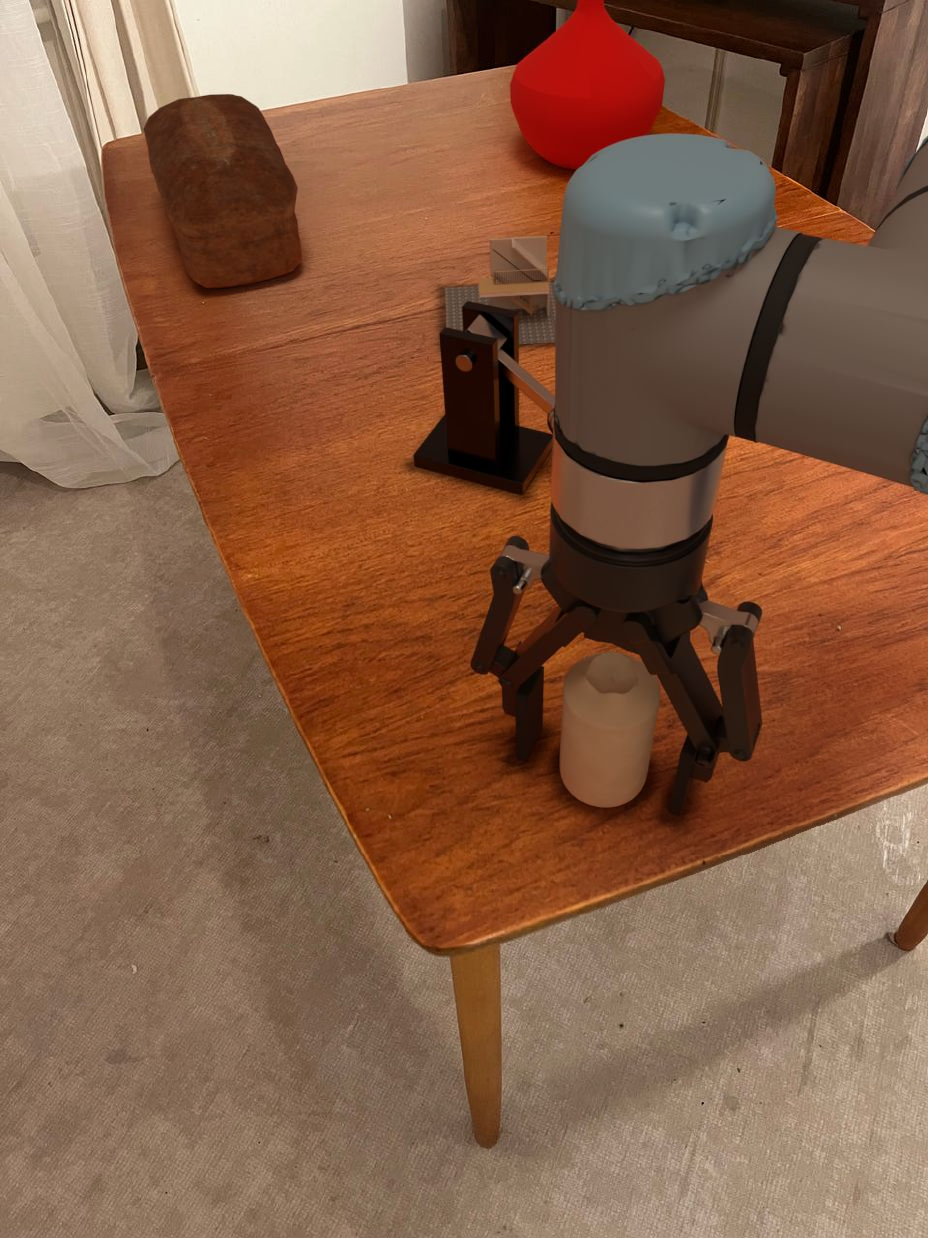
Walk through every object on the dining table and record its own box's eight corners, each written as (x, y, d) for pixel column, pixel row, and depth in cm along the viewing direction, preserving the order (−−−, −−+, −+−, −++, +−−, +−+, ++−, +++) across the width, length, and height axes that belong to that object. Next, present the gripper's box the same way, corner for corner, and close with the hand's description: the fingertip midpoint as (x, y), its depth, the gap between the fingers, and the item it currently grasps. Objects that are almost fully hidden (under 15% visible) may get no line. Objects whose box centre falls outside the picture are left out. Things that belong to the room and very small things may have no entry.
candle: (657, 800, 61) (676, 703, 53) (570, 815, 60) (577, 719, 53) (632, 729, 64) (647, 628, 57) (550, 742, 64) (554, 643, 56)
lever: (578, 431, 80) (601, 410, 77) (563, 454, 78) (587, 433, 75) (465, 332, 78) (485, 307, 75) (447, 353, 76) (467, 328, 73)
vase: (485, 144, 126) (480, -28, 112) (606, 112, 131) (616, -57, 116) (558, 200, 115) (562, 16, 100) (688, 162, 120) (709, -18, 105)
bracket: (554, 445, 84) (557, 311, 75) (522, 495, 80) (522, 360, 71) (449, 419, 87) (440, 287, 78) (414, 465, 83) (399, 332, 74)
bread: (269, 174, 123) (248, 68, 114) (319, 280, 105) (300, 164, 96) (158, 195, 120) (128, 88, 111) (190, 307, 102) (157, 191, 93)
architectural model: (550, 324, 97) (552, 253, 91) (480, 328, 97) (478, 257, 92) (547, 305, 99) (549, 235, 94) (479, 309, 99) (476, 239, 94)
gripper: (894, 511, 44) (792, 781, 61) (452, 403, 51) (470, 673, 68) (863, 626, 40) (763, 884, 56) (384, 491, 47) (421, 756, 63)
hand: (603, 769), depth 62 cm, fingers open, 9 cm apart
